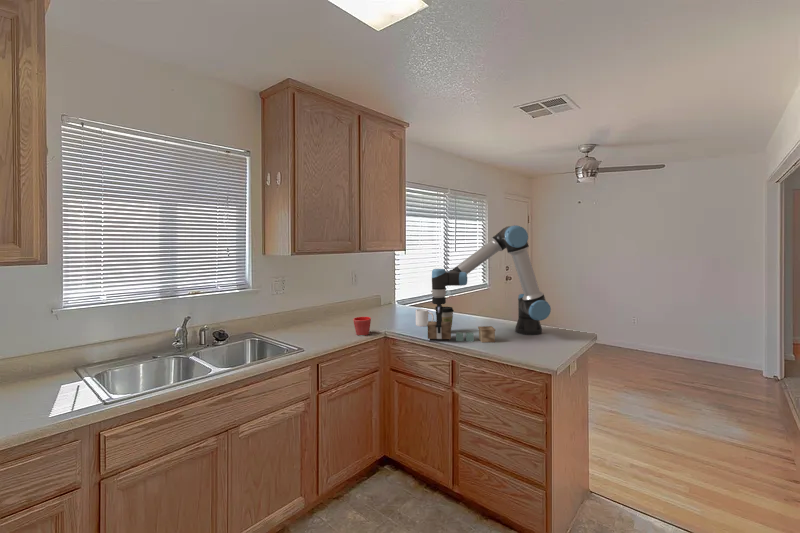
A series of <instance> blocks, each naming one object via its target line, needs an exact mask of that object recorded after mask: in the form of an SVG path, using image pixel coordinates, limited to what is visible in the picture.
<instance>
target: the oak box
mask: <svg viewBox="0 0 800 533" xmlns="http://www.w3.org/2000/svg"><path fill="white" fill-rule="evenodd" d="M477 328H478V340H479V342H481V343H495V342H496V341H495V340H496V338H495V336H496V328H494V326H491V325H490V326H488V325H486V326H477Z"/></svg>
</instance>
